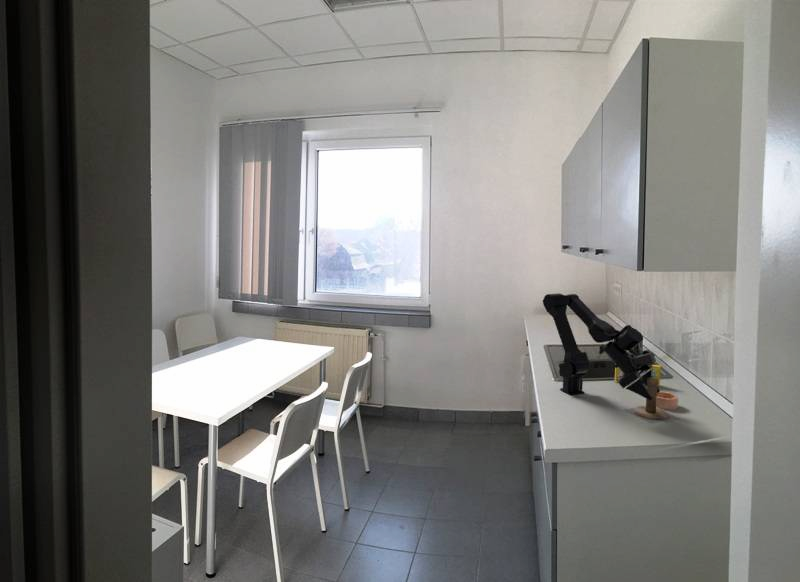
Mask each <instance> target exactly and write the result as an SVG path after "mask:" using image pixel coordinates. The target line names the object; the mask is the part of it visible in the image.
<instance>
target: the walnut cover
mask: <svg viewBox="0 0 800 582" xmlns="http://www.w3.org/2000/svg"><path fill="white" fill-rule="evenodd" d="M657 385H658V379H657V378H652V377H649V378H647V386H646V389H647V390H648V392H649V393H650V395H651V396H652V399H651V400H648V399H646V398H645V405H642V406H641V405H639V406H635V407H633V408H634V413H635V414H636V415H638V416H640V417H643V418H647V419H652V420H664V419H667V418H668V413H669V412H667V411H666V410H665V409H662V408H657V407H656V402H657Z"/></svg>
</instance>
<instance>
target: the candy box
mask: <svg viewBox="0 0 800 582" xmlns="http://www.w3.org/2000/svg"><path fill="white" fill-rule="evenodd" d="M652 366H653V367H652V368H651V369H653V374H652V376H653V378H657V379H658V385H657V386H658V387H660V384H661V371H662V370H661V369H662V366H661V365H658V364H657V365H656V364H652ZM614 367H615V366H614ZM614 369H615V370H614V380H615V381H617V382H616V383H619V380H620V379H621V378H623V377H624V376H623V375H625V374H624V373H623V372H622V371H621V370H620V369H619V368H618V367H617V368H616V367H615V368H614ZM651 369H649V371H650V370H651ZM615 381H614V382H615ZM643 385H644V384H643ZM644 386H645V385H644Z"/></svg>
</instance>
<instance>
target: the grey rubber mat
mask: <svg viewBox="0 0 800 582" xmlns="http://www.w3.org/2000/svg"><path fill="white" fill-rule="evenodd" d="M634 408H635V407H631V408H625V409H622V411H623V412H625V413H627V414H630V415H632V416H634V417H637V418H639V419H641V420H643V421H645V422H648V423H649V424H654V423H655V424H656V423H662V422H668V421H674V420H675V421H676V420H680V419H681V418H680V417H678V416H675V415H673V414H671V413H669V412H667V413H668V418H667V419H664V420H652V419H647V418H643V417H640V416H638V415H636V414H635V413H634Z"/></svg>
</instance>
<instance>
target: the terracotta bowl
mask: <svg viewBox="0 0 800 582" xmlns="http://www.w3.org/2000/svg"><path fill="white" fill-rule="evenodd" d="M678 406H679V396H677V394H674V393H672V392H666V391H660V392H659V393H657V402H656V408H659V409H661V410H671V411H672V410H676V409H678Z"/></svg>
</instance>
